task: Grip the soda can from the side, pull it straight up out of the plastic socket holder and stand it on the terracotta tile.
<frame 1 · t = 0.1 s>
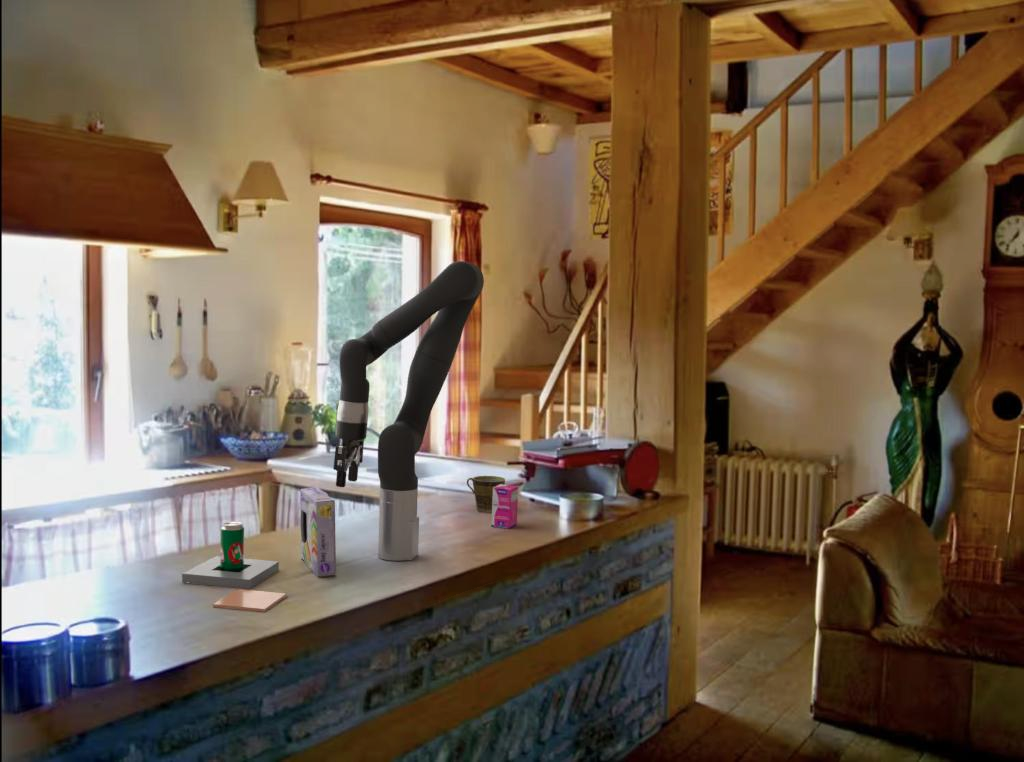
hand: (346, 483, 245), 17 cm above the counter, tool pointing down, fingers open, 8 cm apart
cake pan box: (316, 568, 232), on the counter
terracotta tile: (250, 601, 205), on the counter
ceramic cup: (483, 511, 303), on the counter
supplement box: (504, 526, 282), on the counter
soda can: (231, 577, 222), resting in socket holder
socket holder: (231, 576, 222), on the counter
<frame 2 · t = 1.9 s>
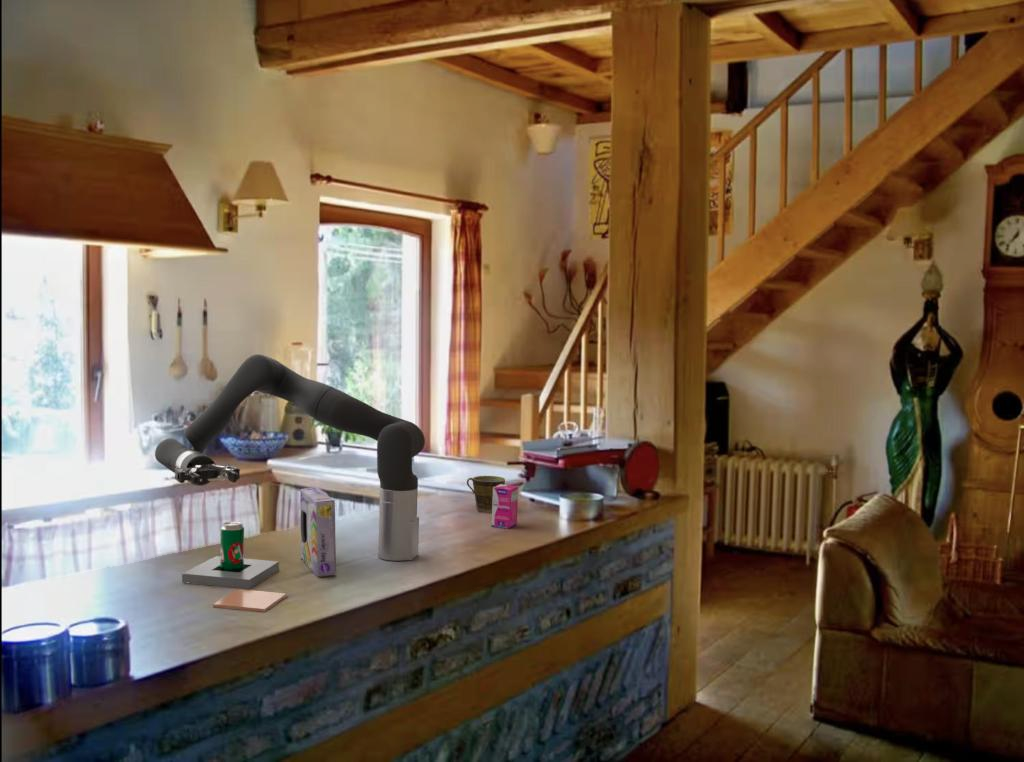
hand: (217, 479, 230), 20 cm above the counter, tool horizontal, fingers open, 8 cm apart
nothing on the counter moved.
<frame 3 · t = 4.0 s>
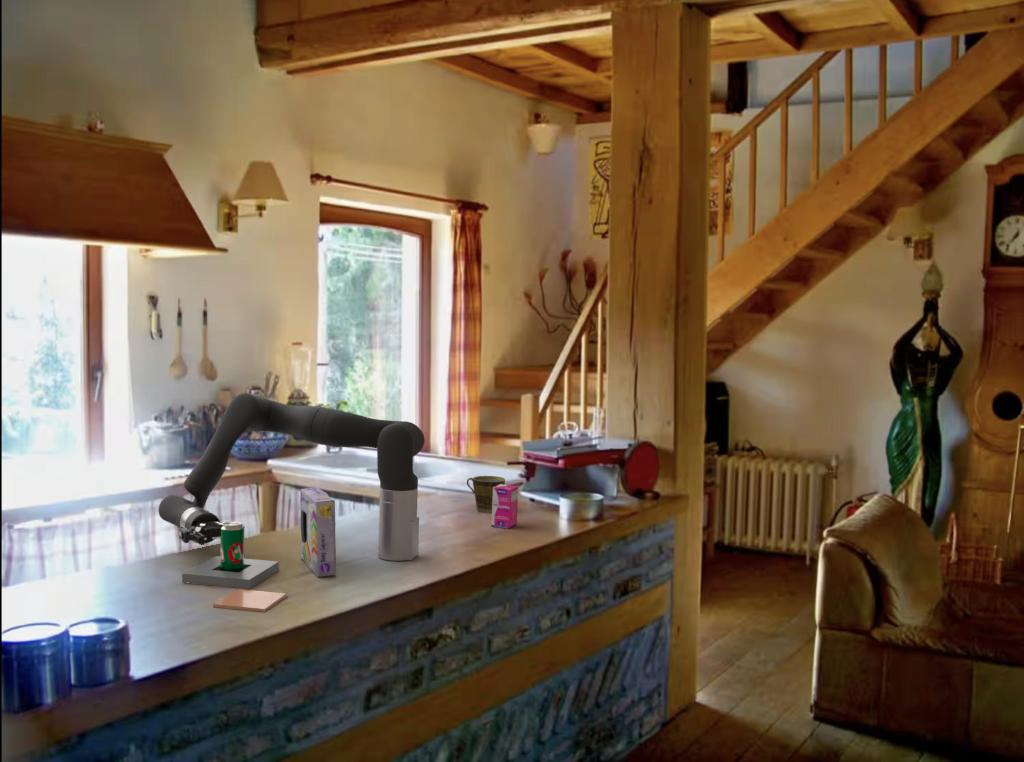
hand: (221, 538, 228), 7 cm above the counter, tool horizontal, fingers open, 8 cm apart
nothing on the counter moved.
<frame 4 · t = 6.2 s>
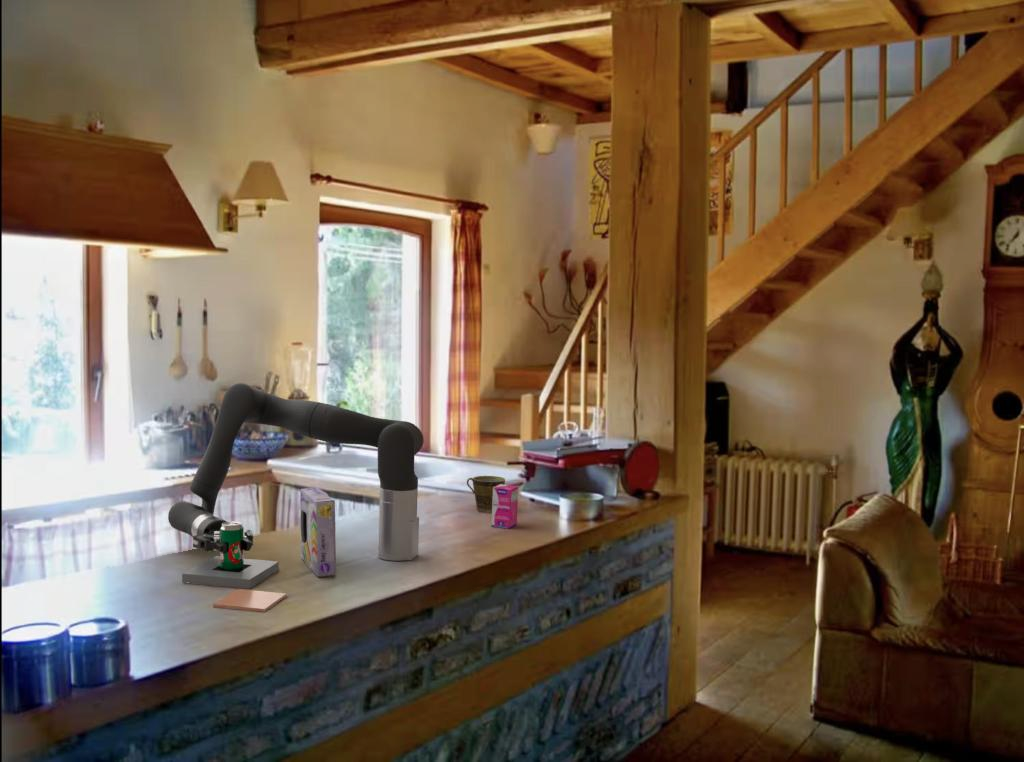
hand: (236, 547, 220), 7 cm above the counter, tool horizontal, fingers closed on soda can, 4 cm apart
soda can: (231, 576, 222), resting in socket holder, touching gripper
everything else where it was.
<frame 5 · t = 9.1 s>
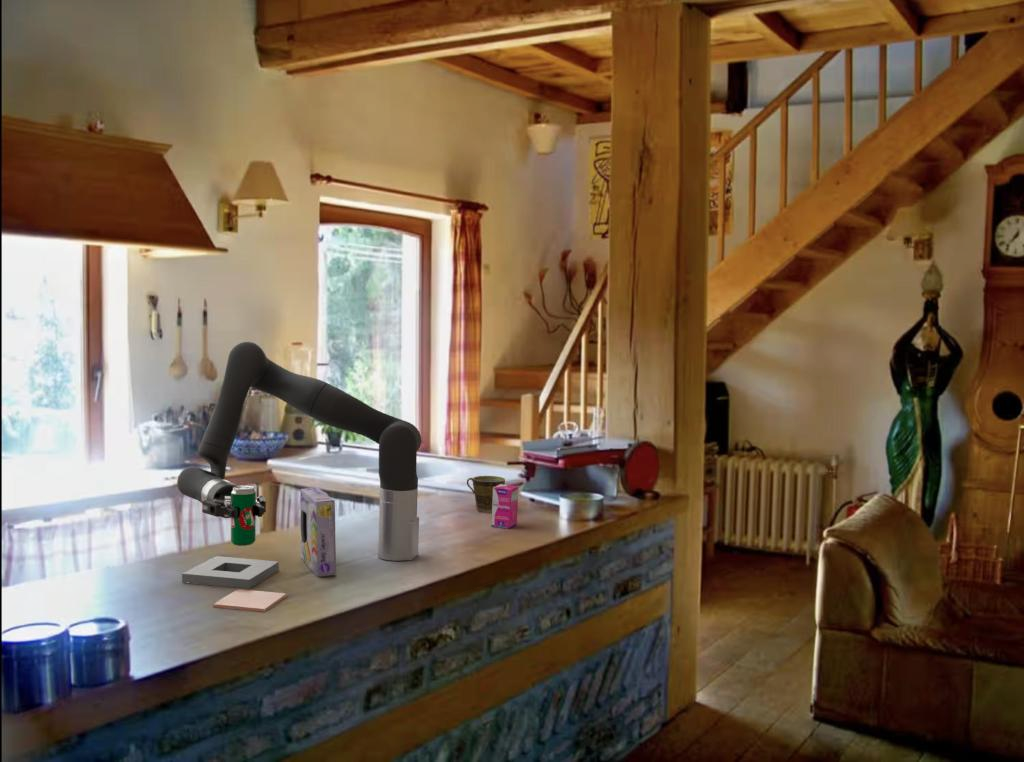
hand: (248, 513, 207), 18 cm above the counter, tool horizontal, fingers closed on soda can, 4 cm apart
soda can: (243, 544, 210), point 10 cm above the counter, touching gripper
everything else where it was.
when the fingers open (9 cm above the counter, at t = 12.3 s): soda can stays where it is, resting on terracotta tile.
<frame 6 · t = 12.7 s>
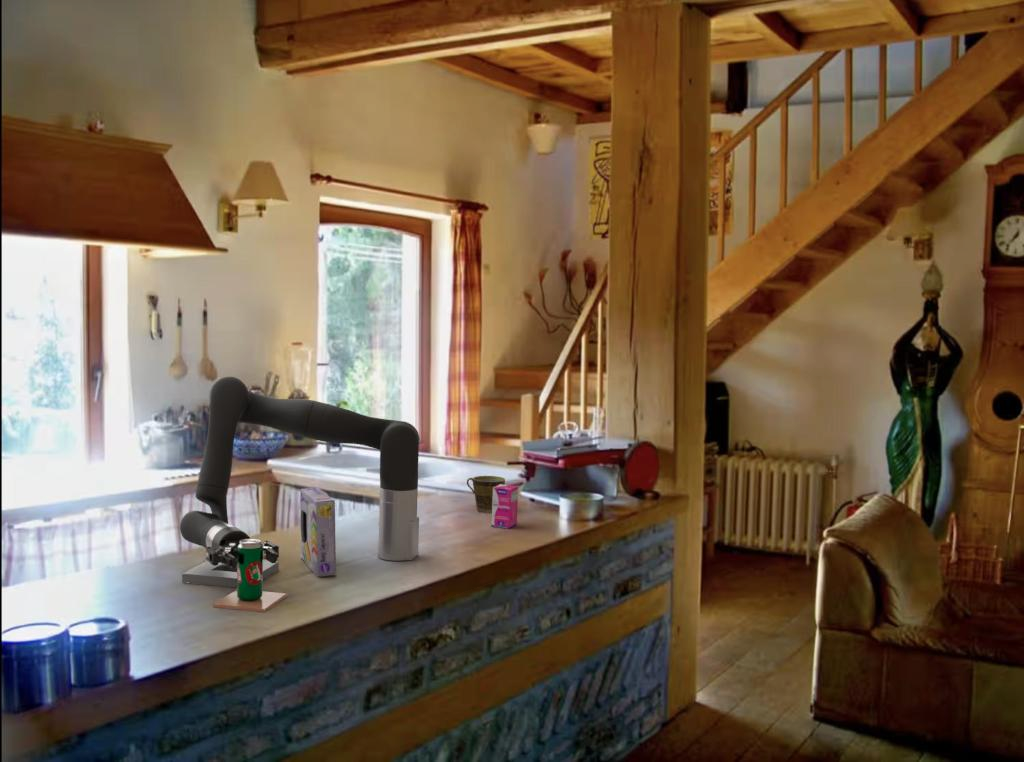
hand: (254, 560, 202), 9 cm above the counter, tool horizontal, fingers open, 8 cm apart
soda can: (249, 599, 205), resting on terracotta tile
everything else where it was.
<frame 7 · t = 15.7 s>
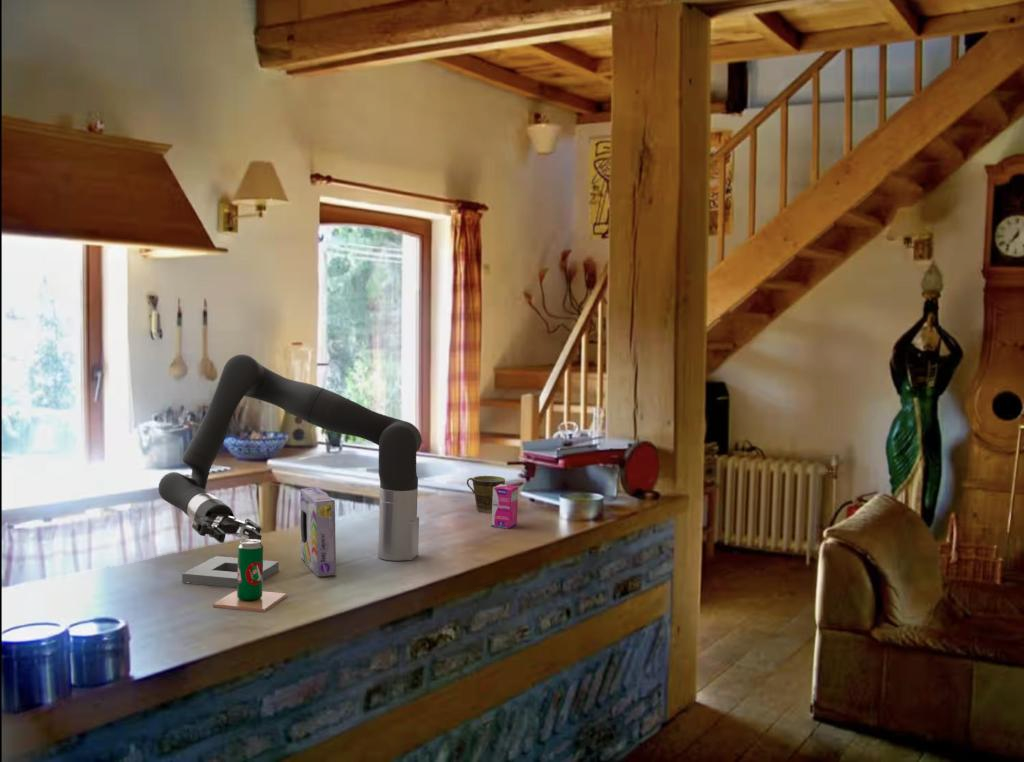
hand: (241, 539, 215), 10 cm above the counter, tool horizontal, fingers open, 8 cm apart
nothing on the counter moved.
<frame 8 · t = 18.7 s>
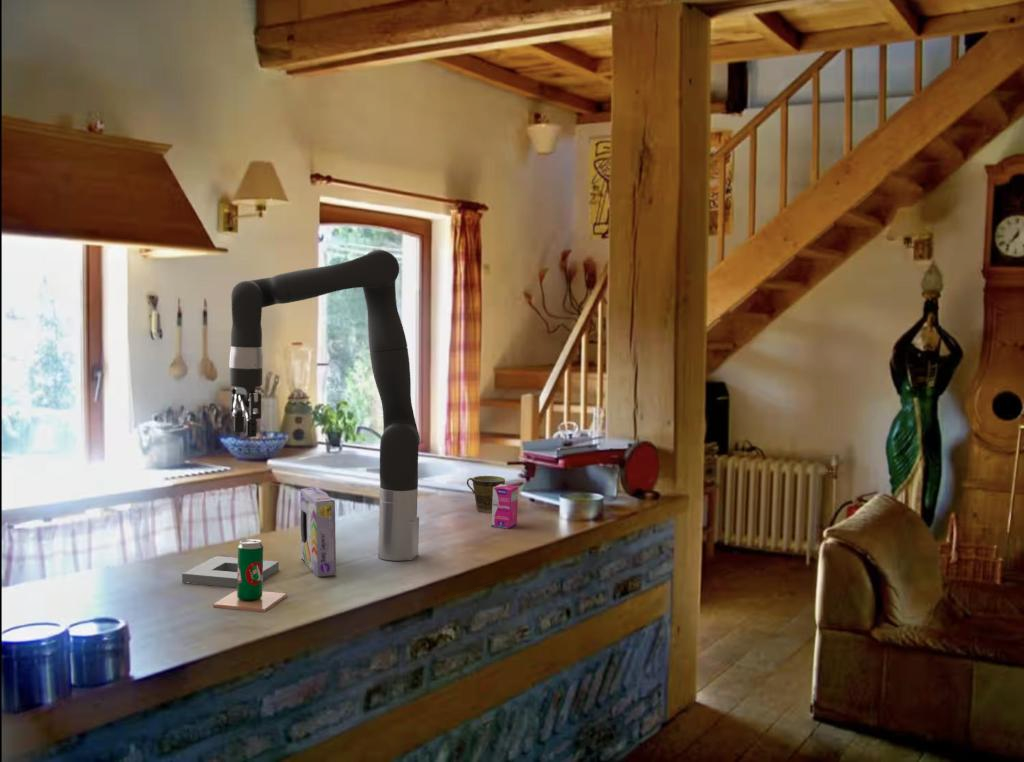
hand: (244, 434, 234), 30 cm above the counter, tool pointing down, fingers open, 8 cm apart
nothing on the counter moved.
at the end: soda can inside the target area on the terracotta tile (0.2 cm from its centre), point 0.4 cm above the terracotta tile's base; soda can tilted 0°; the gripper is holding nothing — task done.
